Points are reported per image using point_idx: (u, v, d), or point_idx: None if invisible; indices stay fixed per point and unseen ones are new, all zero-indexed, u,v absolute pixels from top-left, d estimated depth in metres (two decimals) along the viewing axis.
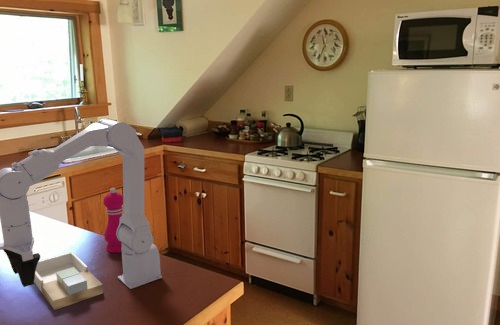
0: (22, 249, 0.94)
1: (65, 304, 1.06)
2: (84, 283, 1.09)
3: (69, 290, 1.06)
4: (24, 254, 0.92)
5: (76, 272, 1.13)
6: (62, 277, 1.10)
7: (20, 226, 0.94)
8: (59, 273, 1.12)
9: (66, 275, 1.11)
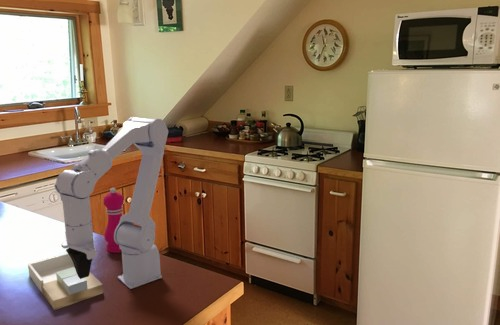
0: (86, 248, 0.97)
1: (65, 304, 1.06)
2: (84, 283, 1.09)
3: (69, 290, 1.06)
4: (89, 253, 0.95)
5: (76, 272, 1.13)
6: (62, 277, 1.10)
7: (83, 226, 0.98)
8: (59, 273, 1.12)
9: (66, 275, 1.11)
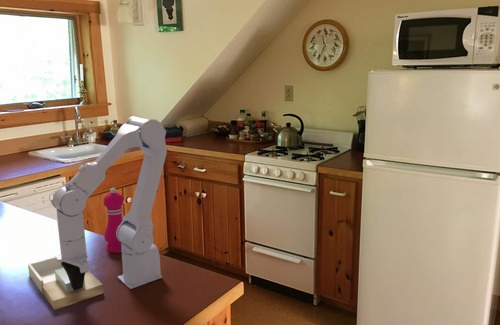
0: (79, 262, 1.02)
1: (65, 304, 1.06)
2: None
3: (67, 288, 1.08)
4: (82, 266, 1.00)
5: None
6: (60, 275, 1.11)
7: (77, 241, 1.03)
8: (57, 271, 1.13)
9: (64, 273, 1.12)
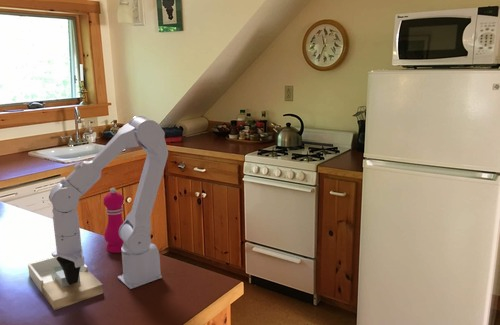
0: (74, 257, 1.05)
1: (65, 304, 1.06)
2: None
3: (62, 282, 1.10)
4: (77, 261, 1.03)
5: None
6: None
7: (72, 236, 1.06)
8: None
9: None
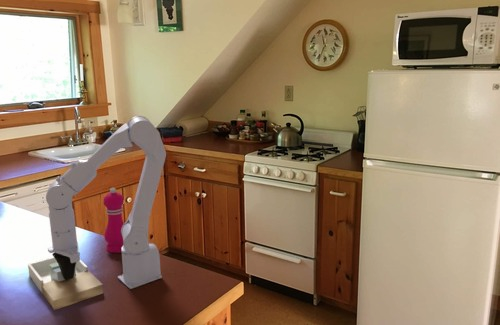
0: (70, 252, 1.07)
1: (65, 304, 1.06)
2: None
3: (58, 276, 1.12)
4: (72, 257, 1.05)
5: None
6: None
7: (68, 232, 1.08)
8: None
9: None
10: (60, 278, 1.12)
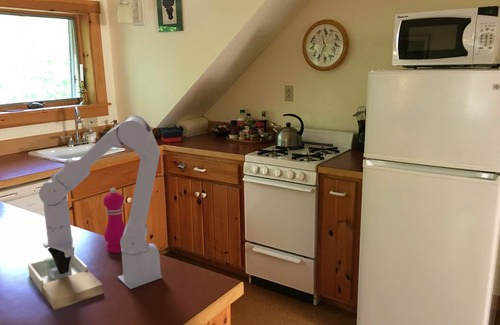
0: (64, 247, 1.10)
1: (65, 304, 1.06)
2: None
3: (54, 275, 1.15)
4: (67, 251, 1.08)
5: None
6: None
7: (62, 227, 1.11)
8: None
9: None
10: (56, 276, 1.15)
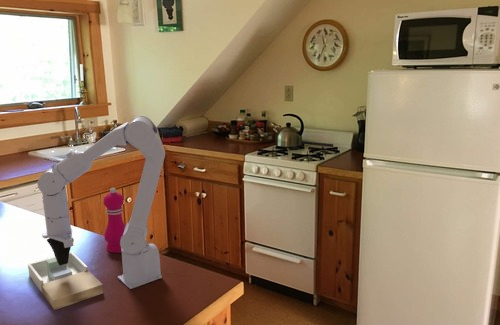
0: (63, 237, 1.09)
1: (65, 304, 1.06)
2: (69, 274, 1.17)
3: None
4: (66, 242, 1.07)
5: None
6: None
7: (61, 218, 1.10)
8: None
9: None
10: None
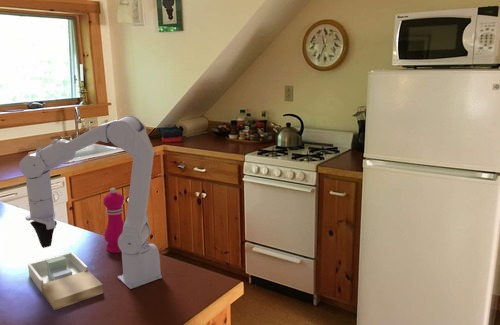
0: (46, 220, 1.12)
1: (65, 304, 1.06)
2: (69, 274, 1.17)
3: None
4: (48, 223, 1.10)
5: None
6: None
7: (44, 201, 1.13)
8: None
9: None
10: None
